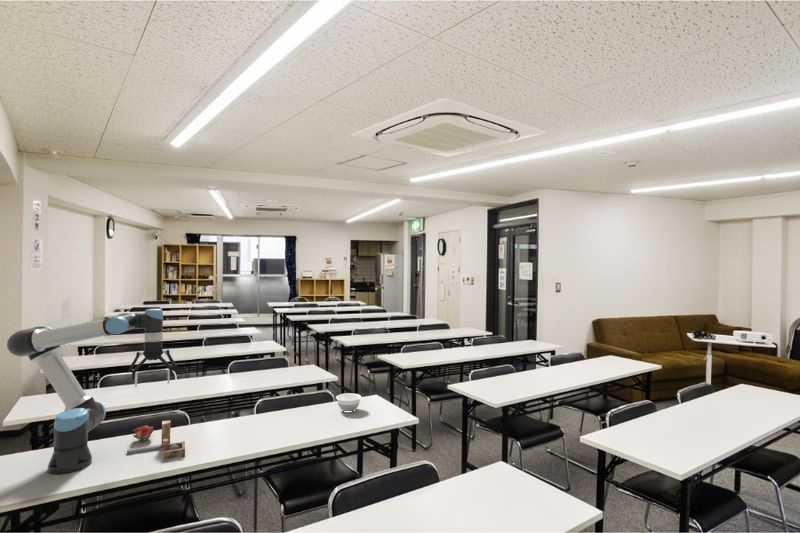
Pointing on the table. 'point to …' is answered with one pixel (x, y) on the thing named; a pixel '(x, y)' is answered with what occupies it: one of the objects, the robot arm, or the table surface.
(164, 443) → the tan and red block
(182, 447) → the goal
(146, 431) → the flower
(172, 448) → the ball
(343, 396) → the bowl
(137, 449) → the rail
